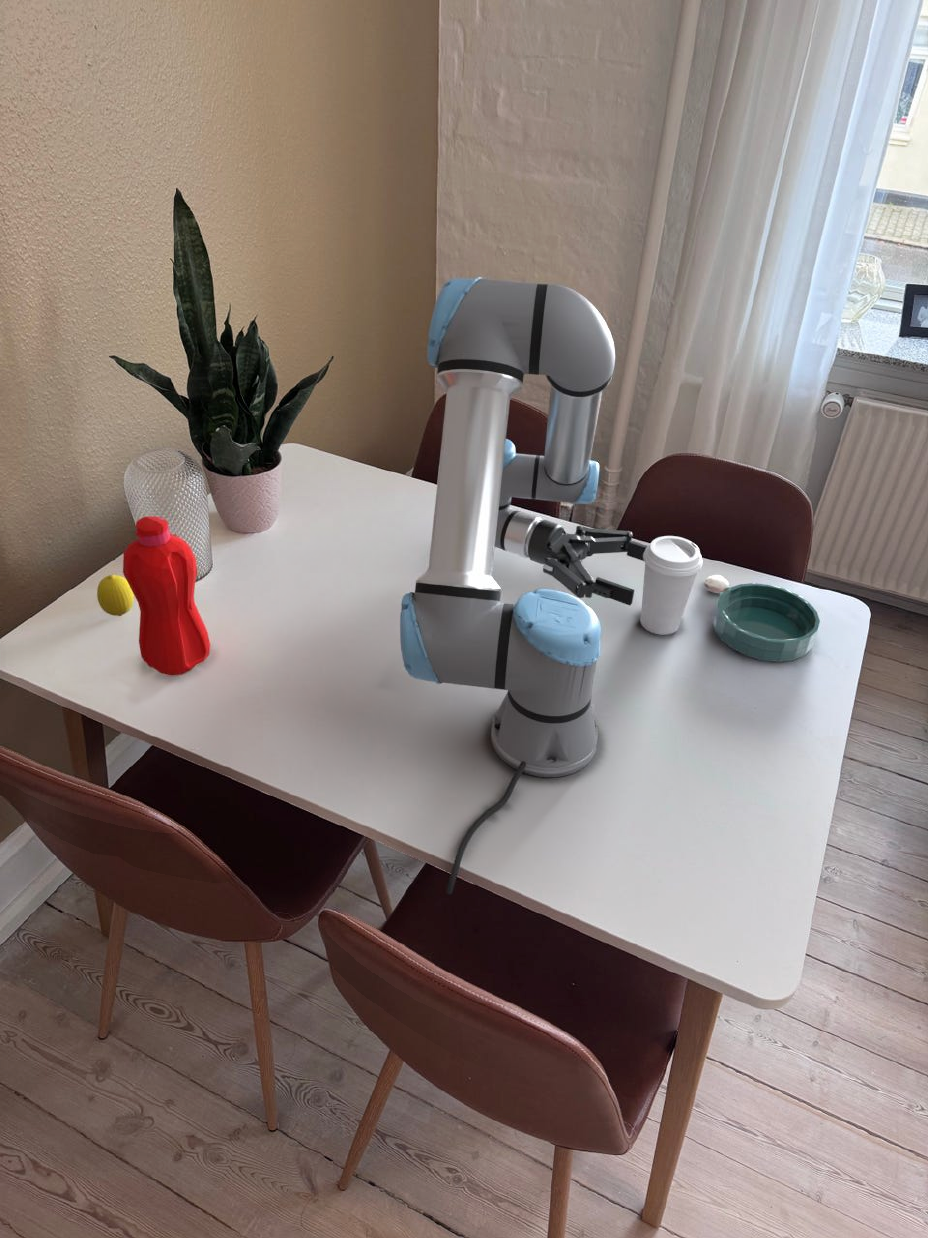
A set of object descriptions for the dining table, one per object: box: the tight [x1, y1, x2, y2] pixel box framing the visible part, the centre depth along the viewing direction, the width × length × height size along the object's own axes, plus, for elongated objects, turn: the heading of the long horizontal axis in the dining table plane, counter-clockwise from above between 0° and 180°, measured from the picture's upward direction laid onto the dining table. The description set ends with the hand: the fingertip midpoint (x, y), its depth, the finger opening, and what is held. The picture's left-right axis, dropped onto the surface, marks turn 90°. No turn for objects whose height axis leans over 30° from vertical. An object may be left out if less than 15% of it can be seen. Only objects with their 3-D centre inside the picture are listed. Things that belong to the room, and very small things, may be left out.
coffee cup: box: [639, 535, 704, 636], centre depth 153 cm, size 10×10×15 cm
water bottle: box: [122, 515, 211, 677], centre depth 139 cm, size 9×11×25 cm
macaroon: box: [703, 574, 730, 594], centre depth 166 cm, size 4×5×2 cm
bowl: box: [712, 582, 821, 662], centre depth 155 cm, size 16×16×4 cm
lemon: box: [96, 574, 135, 617], centre depth 151 cm, size 6×6×8 cm
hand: (648, 578), depth 154 cm, fingers open, 13 cm apart
